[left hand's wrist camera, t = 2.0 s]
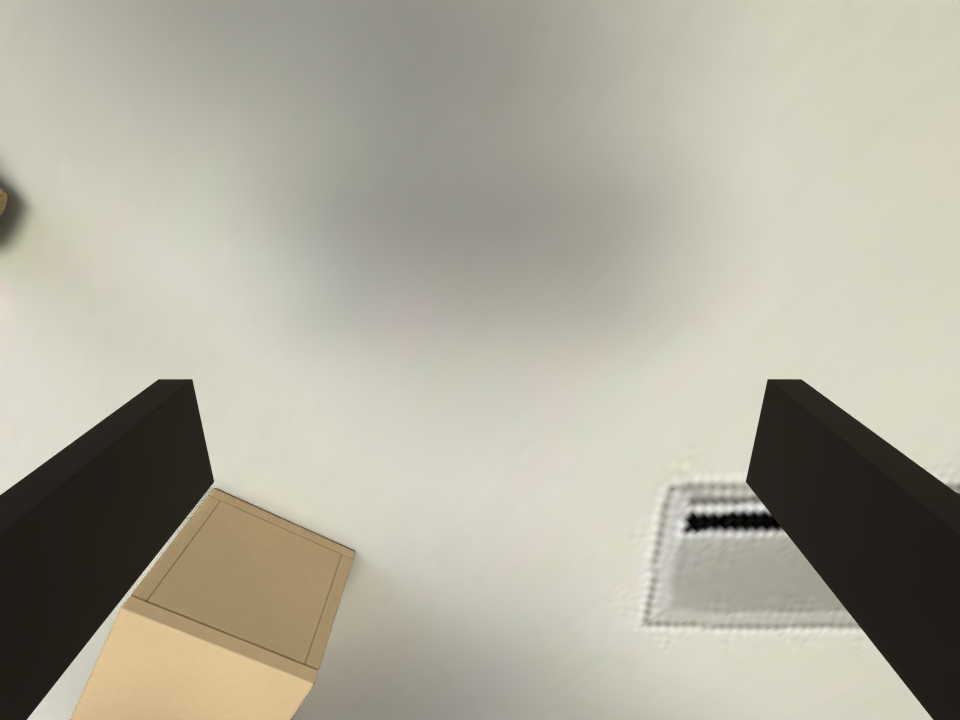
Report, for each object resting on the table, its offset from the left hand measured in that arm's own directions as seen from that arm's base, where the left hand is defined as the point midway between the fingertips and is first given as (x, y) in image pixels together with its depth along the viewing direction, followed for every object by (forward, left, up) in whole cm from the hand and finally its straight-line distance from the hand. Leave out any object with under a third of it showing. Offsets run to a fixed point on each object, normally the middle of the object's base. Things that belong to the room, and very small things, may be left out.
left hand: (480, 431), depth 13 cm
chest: (+24, -17, -18) cm, 34 cm away
